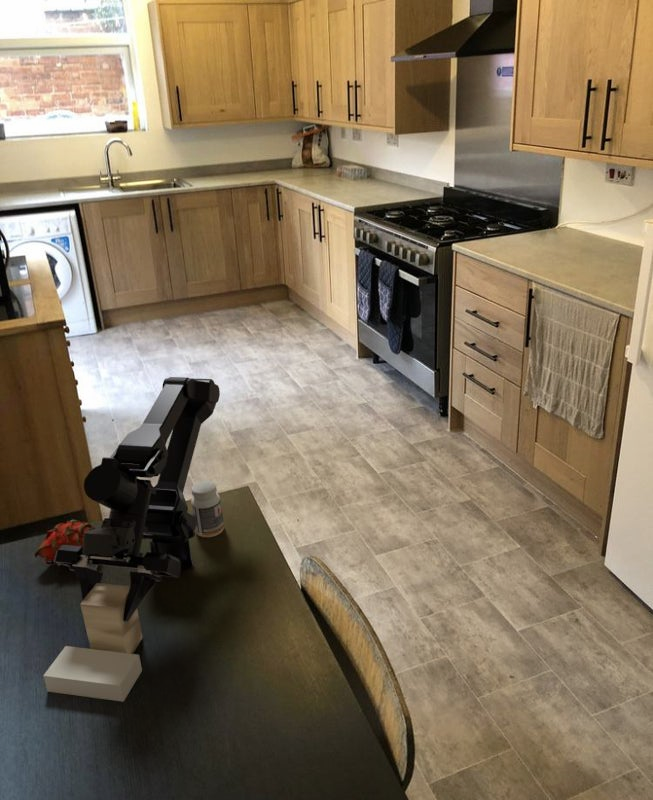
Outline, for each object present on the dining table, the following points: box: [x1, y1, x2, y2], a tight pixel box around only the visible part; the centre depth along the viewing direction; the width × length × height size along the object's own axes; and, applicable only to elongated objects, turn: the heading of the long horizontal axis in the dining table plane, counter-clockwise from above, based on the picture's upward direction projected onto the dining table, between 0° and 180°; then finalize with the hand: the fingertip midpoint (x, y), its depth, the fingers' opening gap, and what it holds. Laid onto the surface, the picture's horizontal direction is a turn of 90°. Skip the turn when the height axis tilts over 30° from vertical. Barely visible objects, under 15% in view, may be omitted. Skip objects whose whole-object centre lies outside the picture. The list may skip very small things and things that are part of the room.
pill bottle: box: [190, 480, 225, 538], centre depth 136 cm, size 6×6×10 cm
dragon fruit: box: [34, 519, 98, 567], centre depth 130 cm, size 8×8×12 cm
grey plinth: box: [42, 645, 143, 703], centre depth 102 cm, size 6×12×3 cm, turn 78°
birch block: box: [79, 582, 144, 654], centre depth 107 cm, size 5×6×10 cm
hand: (106, 619), depth 105 cm, fingers closed on birch block, 6 cm apart
